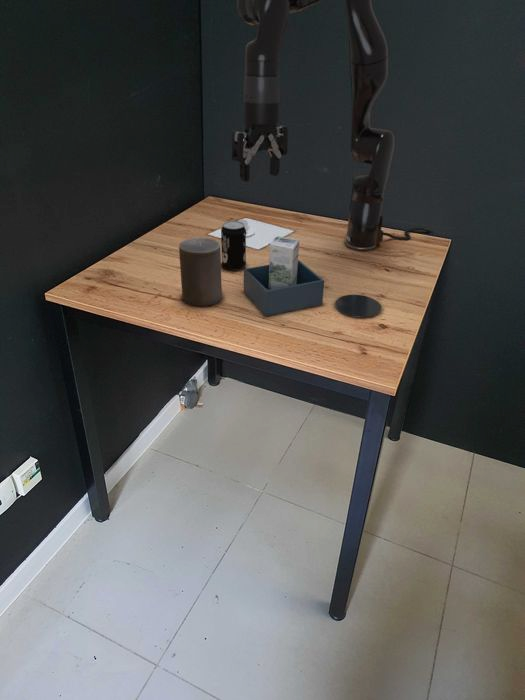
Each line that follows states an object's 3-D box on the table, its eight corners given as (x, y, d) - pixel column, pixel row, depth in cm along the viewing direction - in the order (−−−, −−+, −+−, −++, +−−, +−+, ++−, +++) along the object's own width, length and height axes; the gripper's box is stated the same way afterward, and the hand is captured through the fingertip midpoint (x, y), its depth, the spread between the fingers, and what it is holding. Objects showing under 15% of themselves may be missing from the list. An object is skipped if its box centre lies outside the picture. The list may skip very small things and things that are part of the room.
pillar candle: (189, 309, 118) (185, 249, 110) (177, 291, 126) (173, 234, 117) (227, 302, 121) (226, 244, 113) (214, 285, 129) (212, 229, 120)
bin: (296, 282, 132) (298, 259, 128) (322, 304, 122) (324, 280, 118) (243, 292, 126) (243, 268, 123) (265, 316, 116) (266, 291, 113)
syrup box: (296, 293, 125) (300, 238, 117) (289, 304, 121) (293, 247, 113) (274, 289, 127) (277, 234, 119) (267, 300, 122) (269, 243, 114)
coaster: (363, 293, 127) (364, 291, 127) (390, 313, 119) (390, 311, 119) (326, 301, 123) (326, 299, 123) (351, 322, 115) (351, 320, 115)
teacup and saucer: (241, 226, 165) (241, 214, 163) (261, 232, 161) (261, 219, 159) (224, 234, 159) (224, 221, 157) (244, 240, 155) (244, 227, 153)
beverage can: (242, 272, 136) (242, 229, 129) (219, 269, 137) (218, 227, 130) (248, 262, 141) (248, 221, 135) (225, 260, 142) (224, 219, 136)
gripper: (246, 104, 99) (246, 187, 108) (298, 99, 107) (293, 176, 116) (223, 99, 104) (225, 179, 113) (274, 94, 111) (272, 169, 120)
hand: (259, 177), depth 114 cm, fingers open, 8 cm apart
